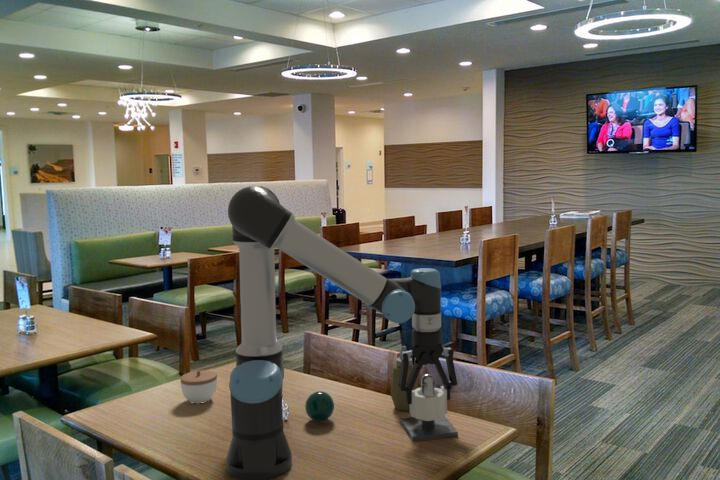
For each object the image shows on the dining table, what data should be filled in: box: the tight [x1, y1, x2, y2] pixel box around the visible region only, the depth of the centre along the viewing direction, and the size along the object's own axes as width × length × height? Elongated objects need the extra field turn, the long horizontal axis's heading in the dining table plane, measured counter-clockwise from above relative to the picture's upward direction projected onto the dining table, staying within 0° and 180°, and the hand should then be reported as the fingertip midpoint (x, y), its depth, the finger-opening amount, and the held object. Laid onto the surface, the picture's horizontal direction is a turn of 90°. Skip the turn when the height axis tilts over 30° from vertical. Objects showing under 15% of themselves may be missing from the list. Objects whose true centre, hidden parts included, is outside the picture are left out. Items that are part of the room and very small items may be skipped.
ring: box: [414, 387, 446, 421], centre depth 155 cm, size 8×8×6 cm
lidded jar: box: [179, 369, 218, 403], centre depth 181 cm, size 11×11×9 cm
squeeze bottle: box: [390, 345, 419, 412], centre depth 170 cm, size 8×8×18 cm
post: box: [399, 373, 459, 442], centre depth 155 cm, size 12×12×15 cm
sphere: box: [304, 390, 335, 422], centre depth 163 cm, size 8×8×8 cm
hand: (428, 413), depth 156 cm, fingers closed on ring, 8 cm apart
